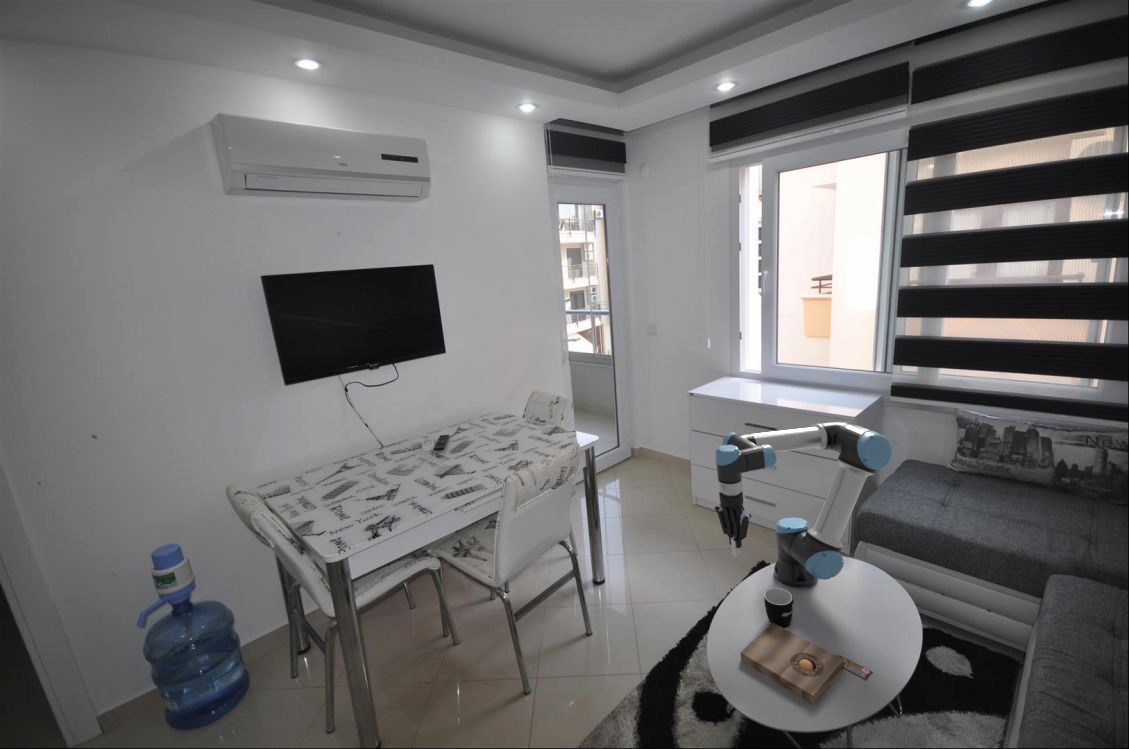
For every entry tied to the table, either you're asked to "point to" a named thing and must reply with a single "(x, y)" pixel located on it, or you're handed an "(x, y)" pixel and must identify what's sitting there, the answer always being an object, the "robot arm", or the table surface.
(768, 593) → the mug
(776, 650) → the wooden board
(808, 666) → the ball
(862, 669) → the chocolate bar
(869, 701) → the table surface
